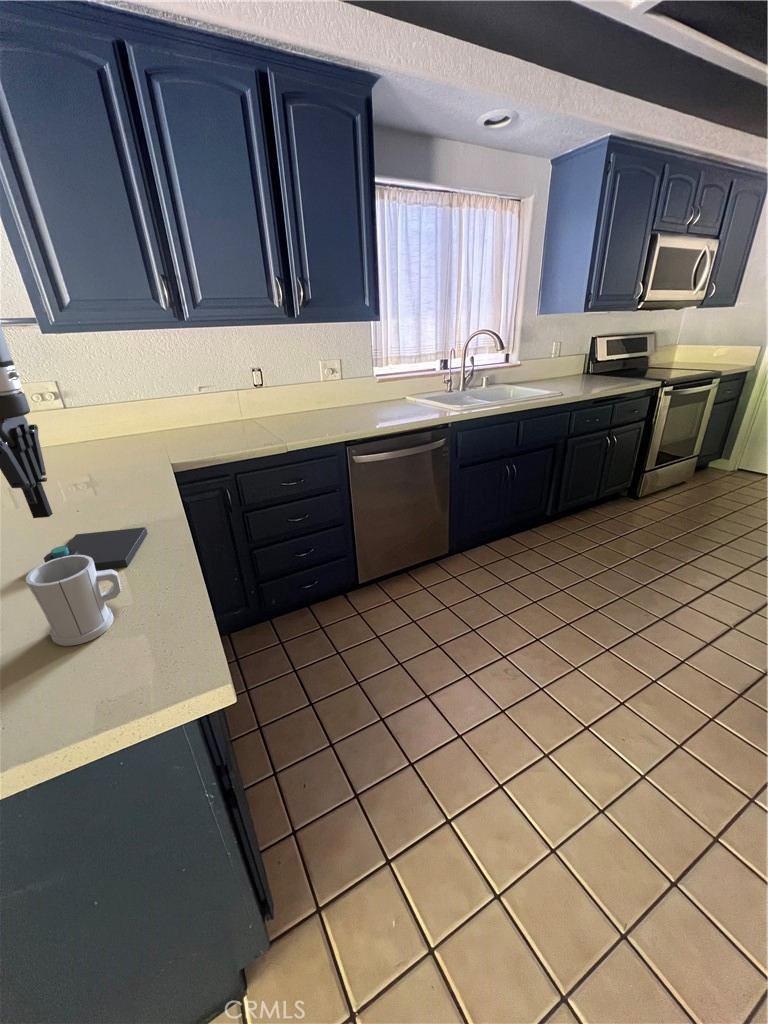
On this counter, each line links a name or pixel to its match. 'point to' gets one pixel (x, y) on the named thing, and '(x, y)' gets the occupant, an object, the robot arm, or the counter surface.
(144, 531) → the scale
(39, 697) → the counter surface
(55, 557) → the scale button
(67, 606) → the cup
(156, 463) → the counter surface
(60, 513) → the counter surface
